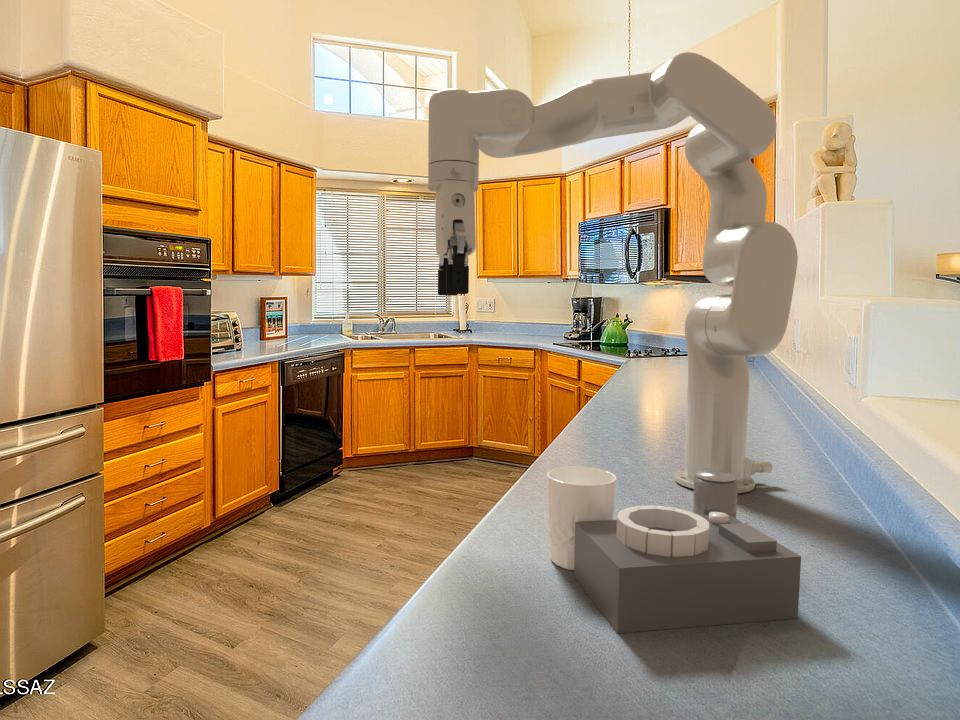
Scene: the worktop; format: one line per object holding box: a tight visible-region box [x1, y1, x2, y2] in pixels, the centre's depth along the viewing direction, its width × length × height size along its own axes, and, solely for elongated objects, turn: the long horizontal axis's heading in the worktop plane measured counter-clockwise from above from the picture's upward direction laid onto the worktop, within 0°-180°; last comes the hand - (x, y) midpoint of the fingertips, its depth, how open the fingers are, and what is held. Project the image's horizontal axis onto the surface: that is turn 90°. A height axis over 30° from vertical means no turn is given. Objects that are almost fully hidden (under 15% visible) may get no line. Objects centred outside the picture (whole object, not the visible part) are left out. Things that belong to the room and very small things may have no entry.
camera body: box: [573, 504, 802, 634], centre depth 61 cm, size 18×12×8 cm, turn 100°
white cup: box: [546, 466, 618, 571], centre depth 70 cm, size 8×8×10 cm
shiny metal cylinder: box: [692, 469, 738, 519], centre depth 75 cm, size 5×5×9 cm
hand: (452, 294), depth 92 cm, fingers open, 9 cm apart
